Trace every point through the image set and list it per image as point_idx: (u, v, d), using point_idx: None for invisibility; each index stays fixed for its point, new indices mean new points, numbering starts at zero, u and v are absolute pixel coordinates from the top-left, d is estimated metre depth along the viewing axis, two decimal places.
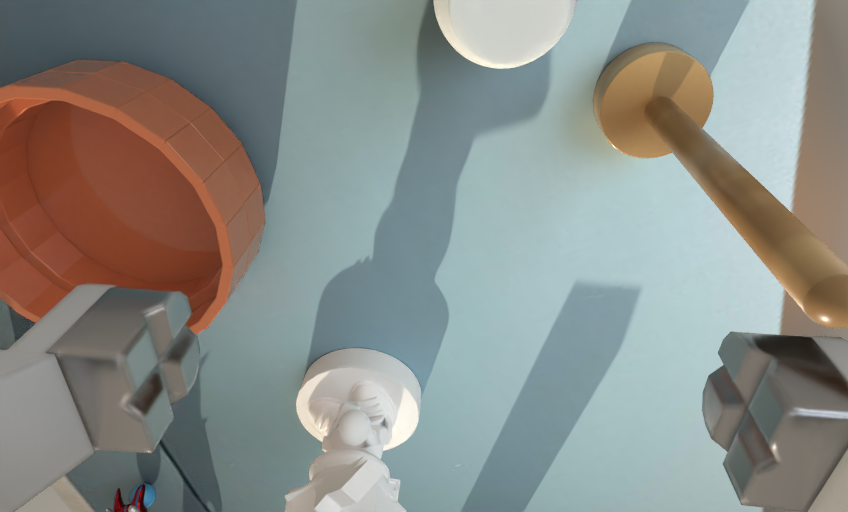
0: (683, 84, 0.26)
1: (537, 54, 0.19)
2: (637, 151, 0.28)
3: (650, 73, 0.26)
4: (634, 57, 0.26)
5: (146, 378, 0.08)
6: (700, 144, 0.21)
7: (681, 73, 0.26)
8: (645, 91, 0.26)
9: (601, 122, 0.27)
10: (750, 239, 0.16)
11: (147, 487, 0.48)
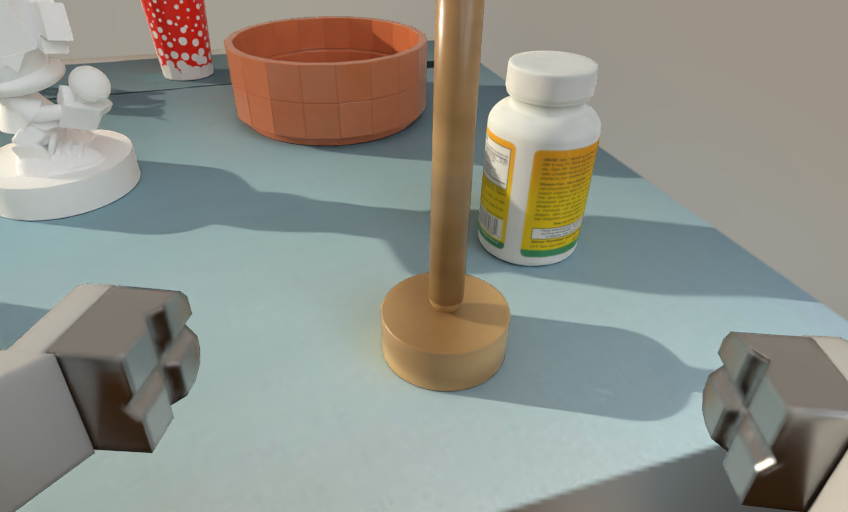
0: (476, 324, 0.22)
1: (523, 69, 0.24)
2: (389, 304, 0.23)
3: (482, 298, 0.23)
4: (493, 290, 0.24)
5: (146, 378, 0.08)
6: None
7: (488, 320, 0.22)
8: None
9: (421, 274, 0.25)
10: None
11: None
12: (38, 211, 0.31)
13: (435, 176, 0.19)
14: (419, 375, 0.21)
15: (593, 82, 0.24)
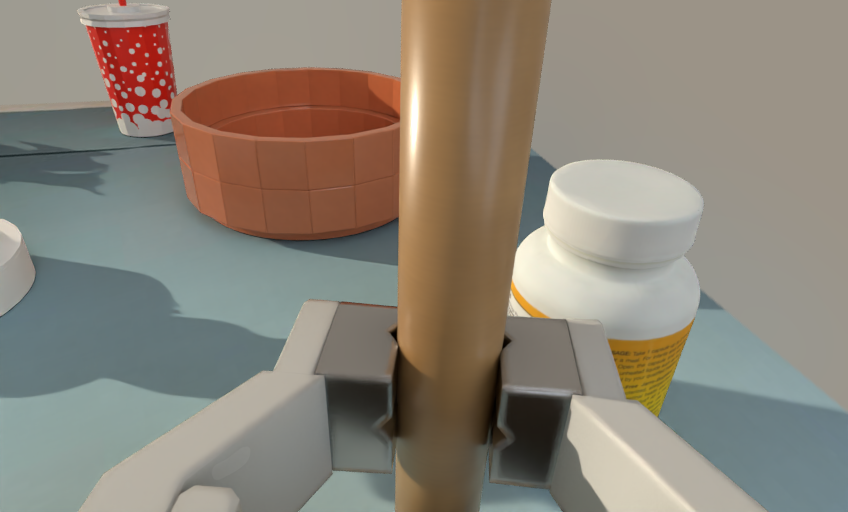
0: None
1: (578, 204, 0.14)
2: None
3: None
4: None
5: None
6: None
7: None
8: None
9: None
10: None
11: None
12: None
13: (402, 494, 0.09)
14: None
15: (696, 227, 0.14)
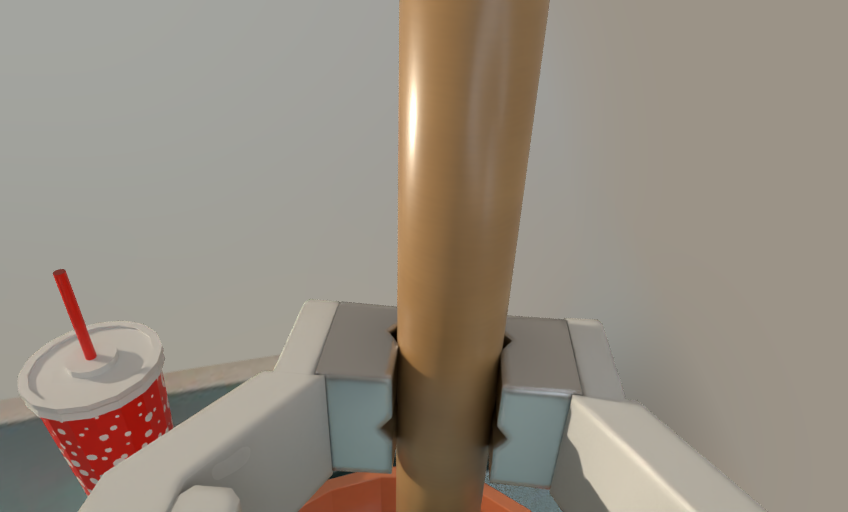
0: None
1: None
2: None
3: None
4: None
5: None
6: None
7: None
8: None
9: None
10: None
11: None
12: None
13: (403, 495, 0.09)
14: None
15: None
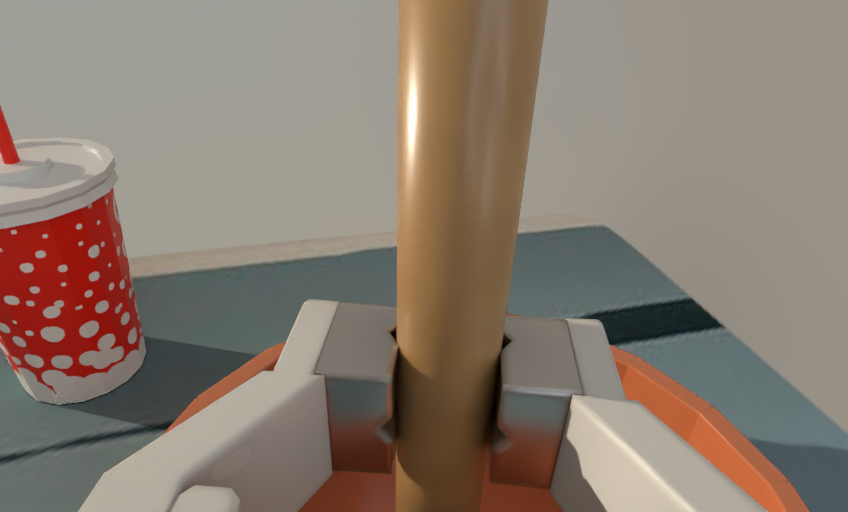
0: None
1: None
2: None
3: None
4: None
5: None
6: None
7: None
8: None
9: None
10: None
11: None
12: None
13: (402, 494, 0.09)
14: None
15: None
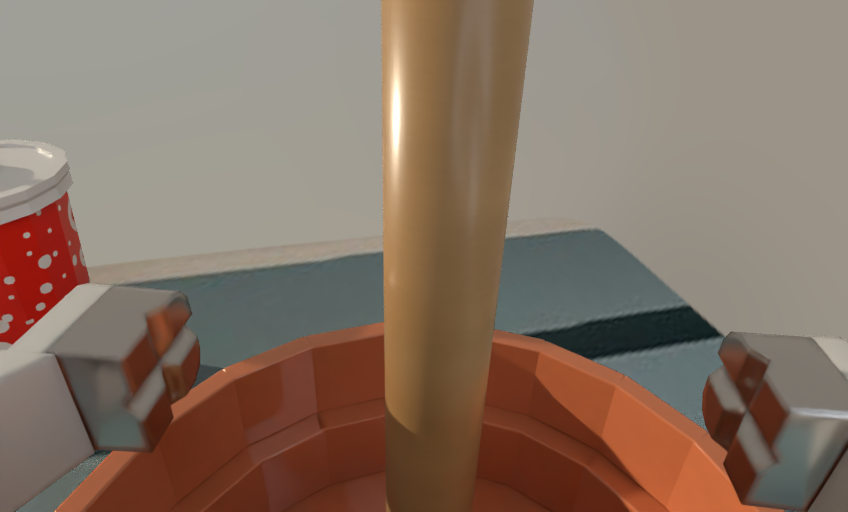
0: None
1: None
2: None
3: None
4: None
5: (146, 378, 0.08)
6: None
7: None
8: None
9: None
10: None
11: None
12: None
13: (392, 502, 0.08)
14: None
15: None
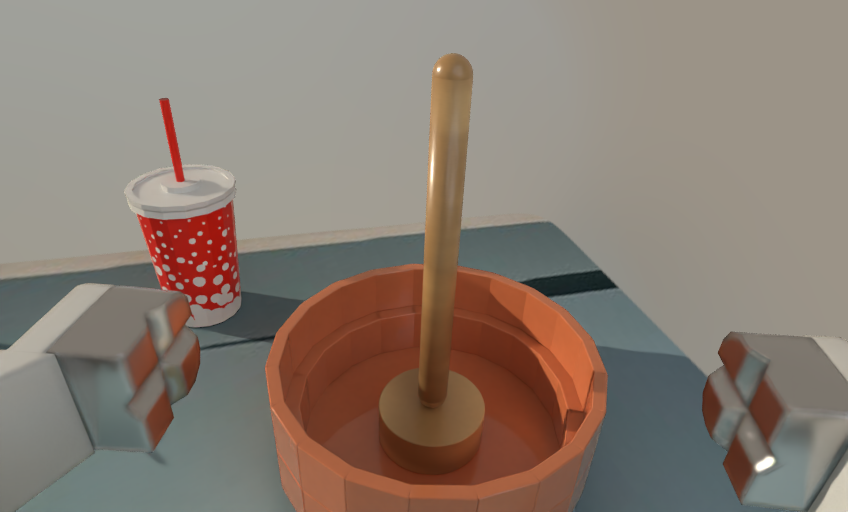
0: (456, 418, 0.27)
1: None
2: (386, 397, 0.28)
3: (463, 394, 0.28)
4: (473, 386, 0.29)
5: (146, 378, 0.08)
6: None
7: (466, 415, 0.27)
8: None
9: (413, 369, 0.29)
10: None
11: None
12: None
13: (424, 307, 0.24)
14: (407, 460, 0.26)
15: None
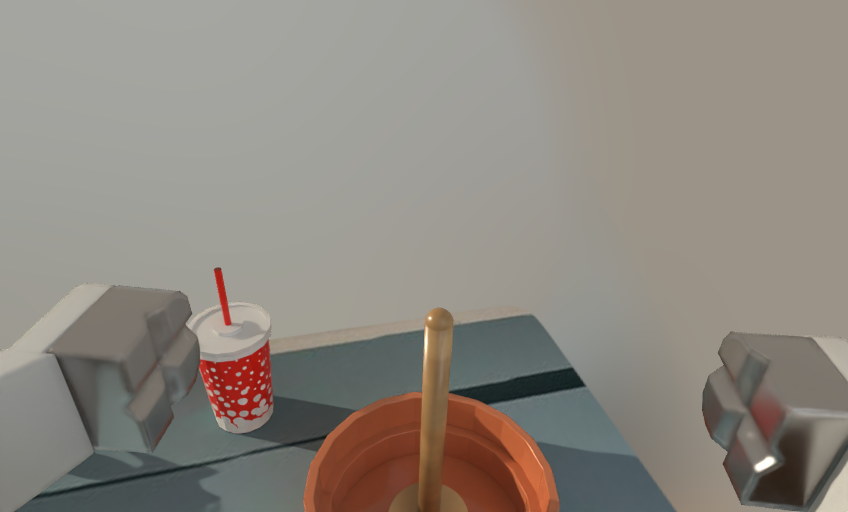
0: None
1: None
2: (393, 511, 0.36)
3: (452, 507, 0.36)
4: (460, 499, 0.37)
5: (146, 378, 0.08)
6: None
7: None
8: (439, 507, 0.36)
9: None
10: None
11: None
12: None
13: (422, 458, 0.32)
14: None
15: None
